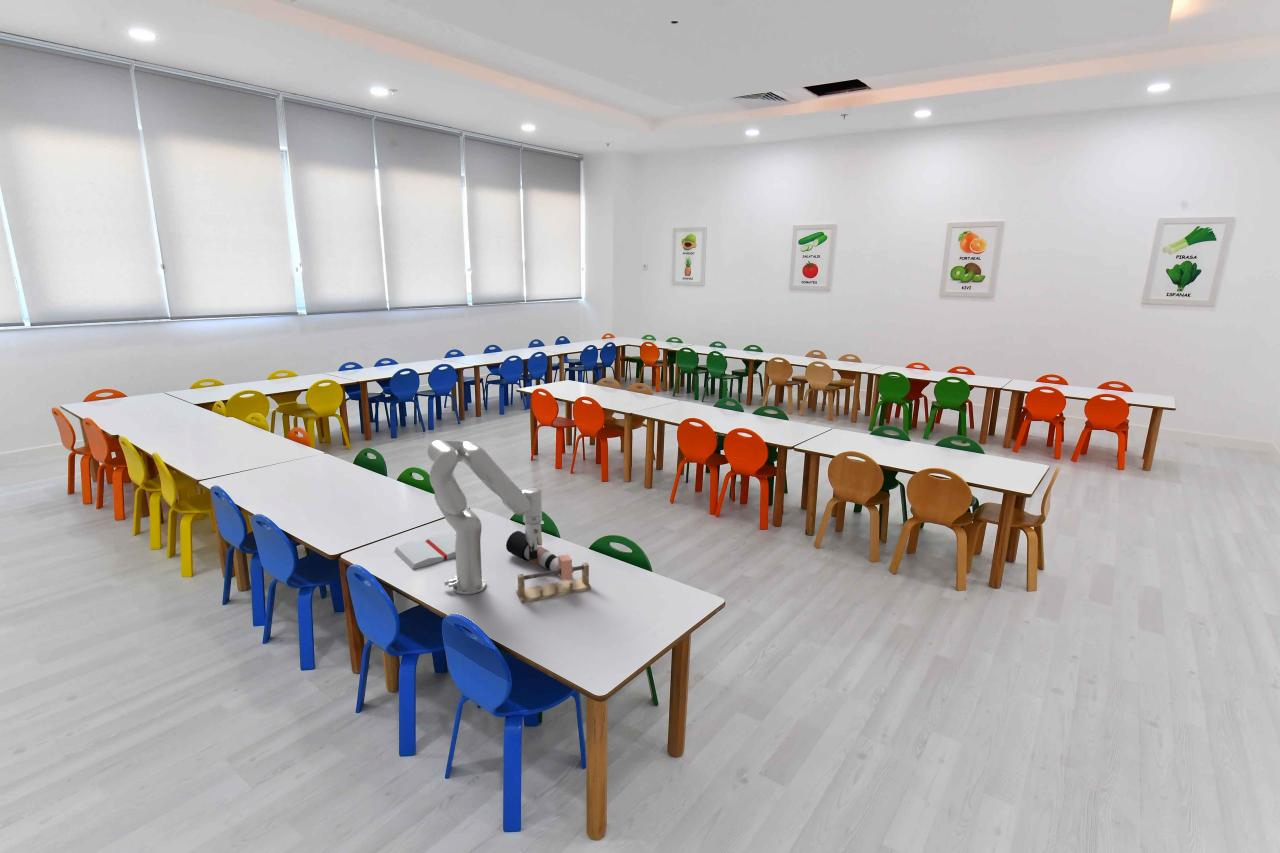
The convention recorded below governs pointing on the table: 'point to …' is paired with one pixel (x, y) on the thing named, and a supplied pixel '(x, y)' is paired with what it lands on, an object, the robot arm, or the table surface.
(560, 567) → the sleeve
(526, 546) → the black and grey cylinder
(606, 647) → the table surface
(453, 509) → the robot arm
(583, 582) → the wooden test tube rack
